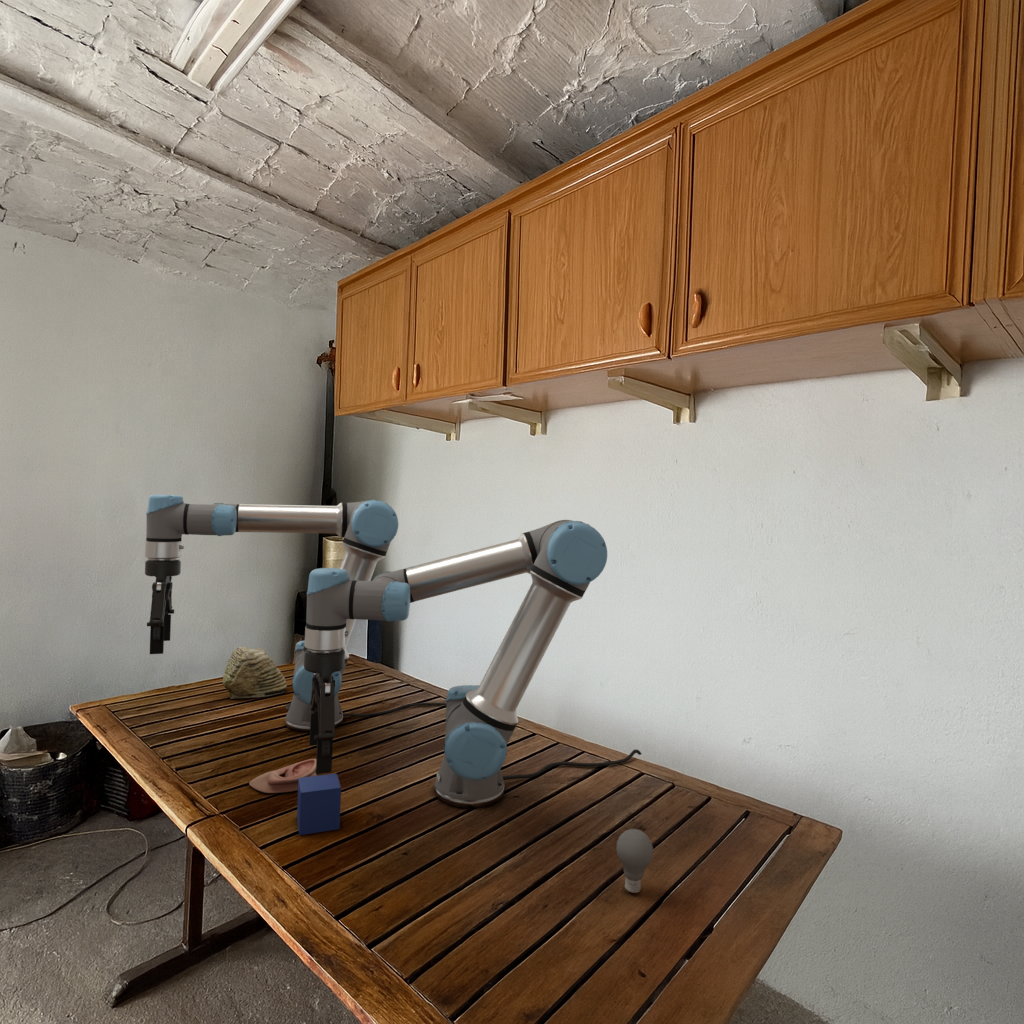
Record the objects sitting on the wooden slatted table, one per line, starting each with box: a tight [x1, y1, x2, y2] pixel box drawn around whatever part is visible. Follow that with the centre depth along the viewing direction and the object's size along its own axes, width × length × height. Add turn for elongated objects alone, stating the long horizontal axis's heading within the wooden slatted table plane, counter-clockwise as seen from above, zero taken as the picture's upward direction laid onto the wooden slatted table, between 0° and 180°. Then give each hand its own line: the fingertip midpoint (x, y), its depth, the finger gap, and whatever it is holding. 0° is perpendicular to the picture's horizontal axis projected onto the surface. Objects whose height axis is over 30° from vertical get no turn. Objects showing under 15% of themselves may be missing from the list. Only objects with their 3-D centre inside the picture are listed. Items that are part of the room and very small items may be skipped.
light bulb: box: [615, 828, 654, 894], centre depth 106 cm, size 6×6×10 cm
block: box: [296, 773, 342, 836], centre depth 123 cm, size 7×7×8 cm
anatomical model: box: [248, 758, 318, 794], centre depth 139 cm, size 13×4×12 cm
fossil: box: [222, 646, 288, 699], centre depth 198 cm, size 9×18×15 cm, turn 132°
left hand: (160, 647), depth 152 cm, fingers open, 13 cm apart
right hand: (319, 757), depth 123 cm, fingers open, 13 cm apart
